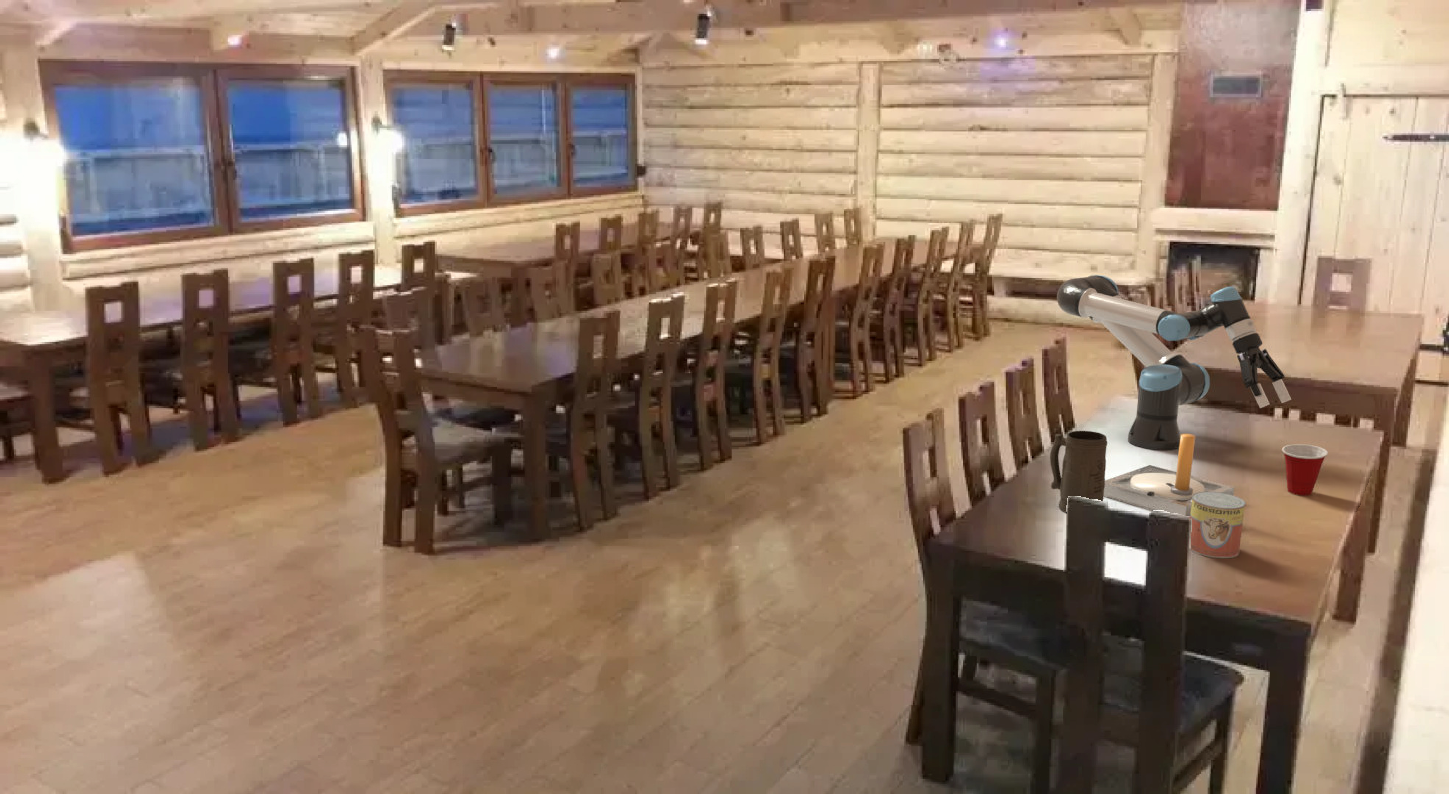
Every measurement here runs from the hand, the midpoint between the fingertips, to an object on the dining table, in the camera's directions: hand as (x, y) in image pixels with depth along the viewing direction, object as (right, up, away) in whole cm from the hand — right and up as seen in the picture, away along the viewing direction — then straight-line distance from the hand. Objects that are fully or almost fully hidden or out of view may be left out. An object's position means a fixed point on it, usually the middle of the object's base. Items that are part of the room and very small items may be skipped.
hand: (1275, 403), depth 327 cm
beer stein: (-71, -26, -38) cm, 84 cm away
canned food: (-46, -33, -65) cm, 86 cm away
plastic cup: (-6, -24, -25) cm, 35 cm away
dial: (-43, -22, -31) cm, 58 cm away
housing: (-44, -24, -30) cm, 58 cm away
